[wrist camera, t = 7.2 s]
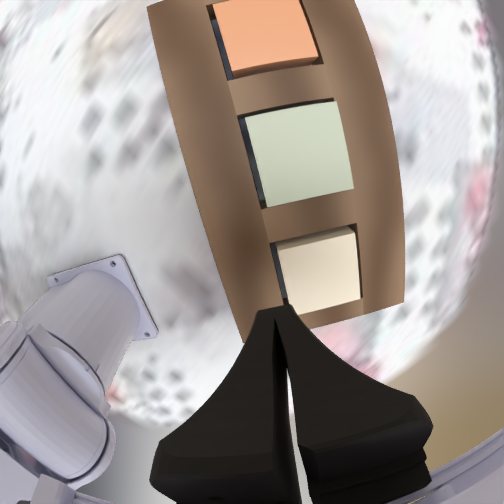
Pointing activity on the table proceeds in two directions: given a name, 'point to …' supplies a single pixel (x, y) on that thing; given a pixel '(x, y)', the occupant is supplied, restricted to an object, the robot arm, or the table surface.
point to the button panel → (238, 166)
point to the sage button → (300, 152)
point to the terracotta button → (264, 35)
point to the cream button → (320, 269)
